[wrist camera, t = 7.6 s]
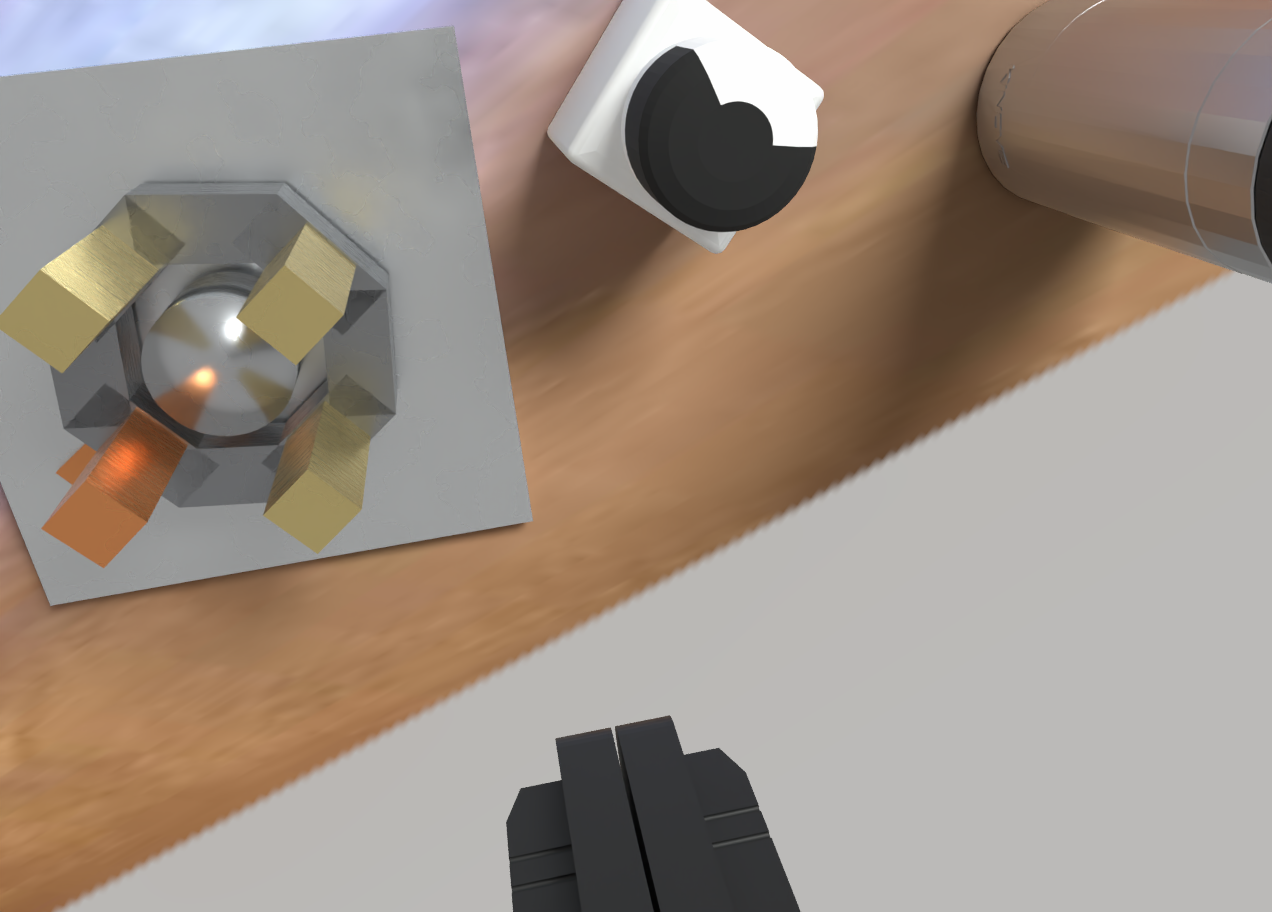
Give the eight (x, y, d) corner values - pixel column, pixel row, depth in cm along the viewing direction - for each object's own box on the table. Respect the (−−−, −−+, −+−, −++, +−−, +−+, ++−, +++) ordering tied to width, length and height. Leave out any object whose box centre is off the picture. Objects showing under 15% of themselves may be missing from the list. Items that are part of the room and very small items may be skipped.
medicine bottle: (679, 222, 46) (758, 292, 35) (542, 133, 43) (582, 179, 32) (771, 78, 44) (884, 105, 33) (634, -23, 41) (708, -30, 30)
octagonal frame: (36, 183, 39) (-70, 234, 31) (381, 182, 41) (371, 229, 33) (99, 487, 44) (23, 601, 36) (402, 470, 46) (398, 574, 38)
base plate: (453, 25, 41) (457, 29, 36) (530, 511, 50) (541, 562, 45) (-144, 91, 38) (-220, 104, 33) (57, 594, 47) (19, 656, 43)
